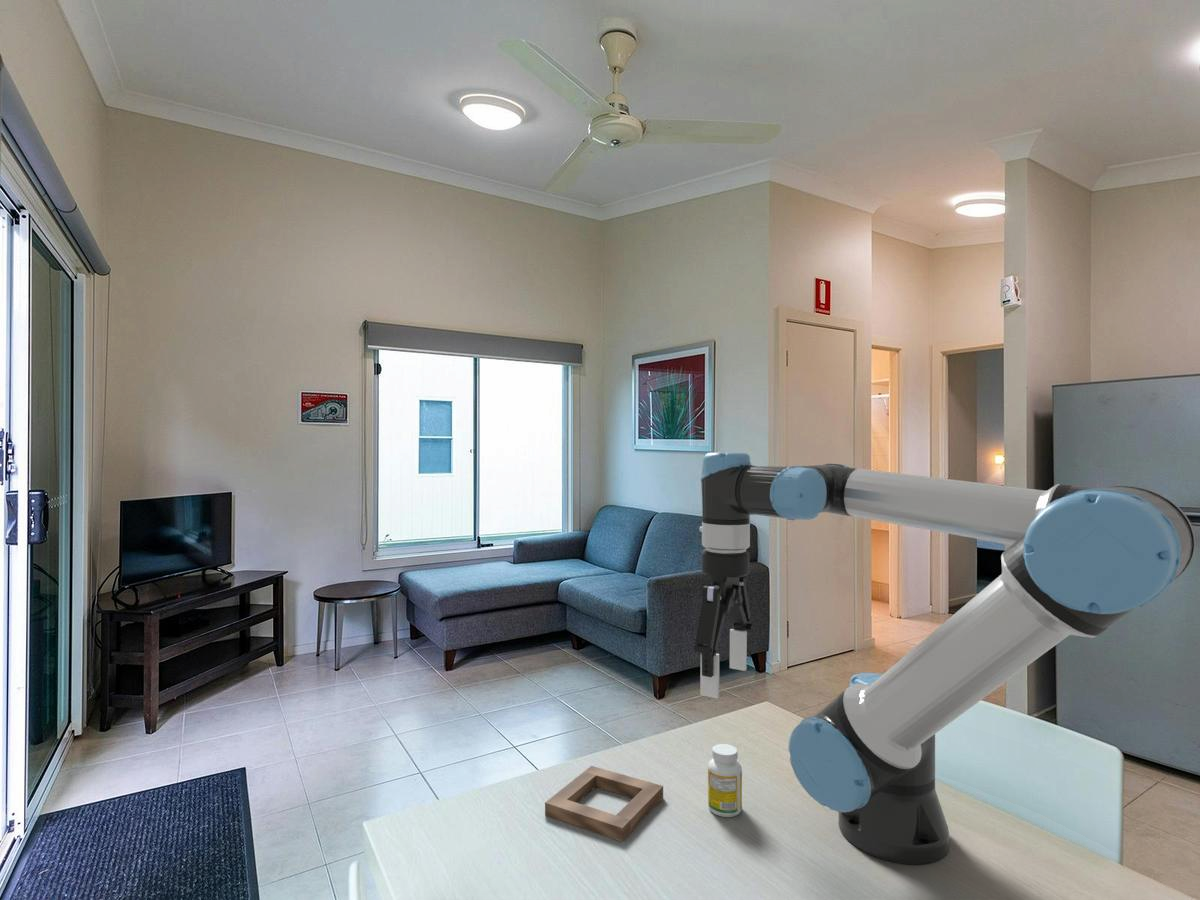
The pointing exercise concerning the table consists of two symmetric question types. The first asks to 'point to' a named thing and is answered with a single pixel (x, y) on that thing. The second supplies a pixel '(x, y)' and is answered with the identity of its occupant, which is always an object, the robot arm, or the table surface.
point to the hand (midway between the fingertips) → (724, 682)
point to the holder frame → (599, 821)
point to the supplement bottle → (725, 781)
